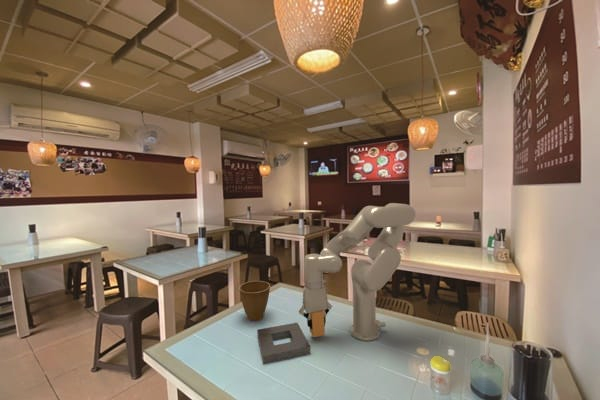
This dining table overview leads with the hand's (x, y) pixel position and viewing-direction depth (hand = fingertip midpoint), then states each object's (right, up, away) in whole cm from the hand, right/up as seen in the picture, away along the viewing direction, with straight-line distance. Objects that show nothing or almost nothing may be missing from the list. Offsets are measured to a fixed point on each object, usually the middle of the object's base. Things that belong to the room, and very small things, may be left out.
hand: (316, 325), depth 105 cm
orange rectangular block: (0, -3, 0) cm, 3 cm away
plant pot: (-29, -5, +18) cm, 34 cm away
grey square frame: (-14, -6, -4) cm, 16 cm away
